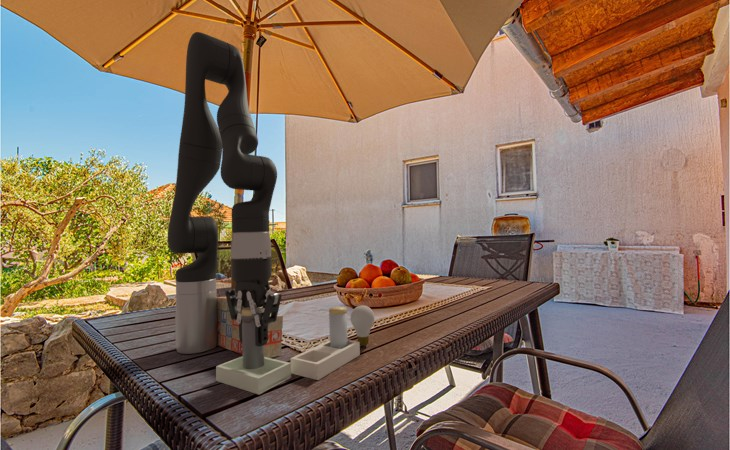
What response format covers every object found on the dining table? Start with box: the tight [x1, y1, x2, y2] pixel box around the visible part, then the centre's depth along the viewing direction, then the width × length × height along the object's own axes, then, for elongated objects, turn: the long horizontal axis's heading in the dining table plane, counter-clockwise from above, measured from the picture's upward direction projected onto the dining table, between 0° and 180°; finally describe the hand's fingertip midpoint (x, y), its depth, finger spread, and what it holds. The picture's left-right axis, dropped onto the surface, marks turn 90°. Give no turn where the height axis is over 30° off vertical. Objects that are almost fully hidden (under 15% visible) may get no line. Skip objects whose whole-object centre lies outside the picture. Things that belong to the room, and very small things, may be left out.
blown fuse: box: [242, 307, 264, 369], centre depth 66 cm, size 4×4×11 cm
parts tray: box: [215, 355, 292, 395], centre depth 66 cm, size 12×8×3 cm, turn 58°
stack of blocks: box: [217, 295, 284, 359], centre depth 84 cm, size 21×6×12 cm, turn 49°
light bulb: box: [350, 305, 375, 348], centre depth 84 cm, size 6×6×10 cm
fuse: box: [328, 306, 349, 349], centre depth 77 cm, size 4×4×11 cm
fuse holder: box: [290, 339, 361, 381], centre depth 73 cm, size 7×15×3 cm, turn 149°
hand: (253, 343), depth 66 cm, fingers closed on blown fuse, 4 cm apart
